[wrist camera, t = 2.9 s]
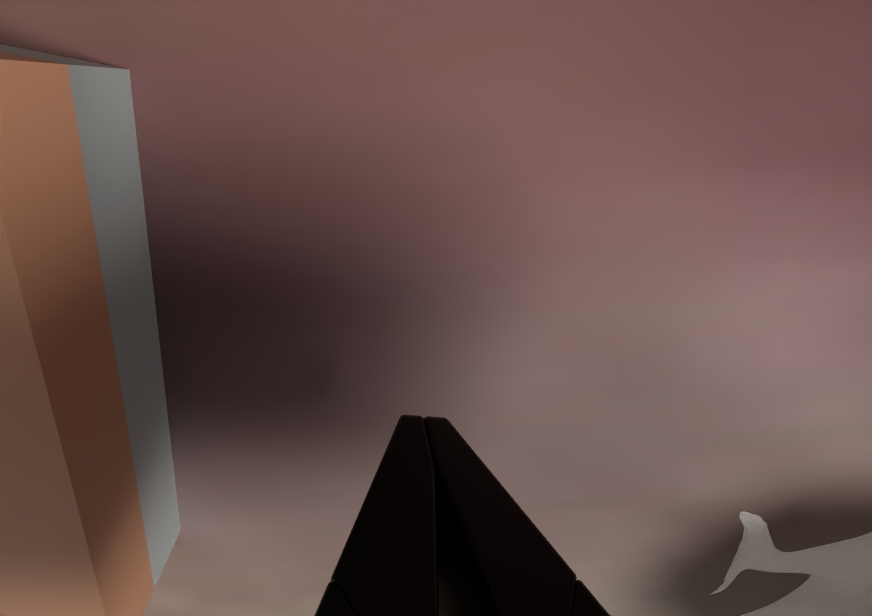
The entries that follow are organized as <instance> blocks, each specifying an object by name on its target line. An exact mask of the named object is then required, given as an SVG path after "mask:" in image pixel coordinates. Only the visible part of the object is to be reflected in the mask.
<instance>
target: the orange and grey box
mask: <svg viewBox="0 0 872 616" xmlns="http://www.w3.org/2000/svg"><path fill="white" fill-rule="evenodd" d="M179 533H180V521H179V512H178V503H177V494H176V485H175V476H174V467H173V458H172V449H171V441H170V432H169V423H168V414H167V405H166V396H165V387H164V378H163V369H162V360H161V351H160V342H159V333H158V324H157V315H156V306H155V297H154V289H153V280H152V271H151V262H150V253H149V244H148V235H147V226H146V217H145V208H144V199H143V190H142V181H141V172H140V163H139V154H138V145H137V136H136V128H135V119H134V110H133V101H132V92H131V83H130V74H129V69H124V68H119V67H114V66H109V65H104V64H99V63H94V62H89V61H84V60H79V59H74V58H69V57H64V56H59V55H54V54H49V53H44V52H39V51H33V50H28V49H23V48H18V47H13V46H8V45H3V44H0V613H1V615H2V616H142V615H143V612H144V610H145V608H146V606H147V604H148V601H149V599H150V597H151V595H152V592H153V590H154V588H155V586H156V584H157V581H158V579H159V577H160V575H161V572H162V570H163V568H164V566H165V564H166V561H167V559H168V557H169V555H170V553H171V550H172V548H173V546H174V544H175V541H176V539H177V537H178V535H179Z"/></svg>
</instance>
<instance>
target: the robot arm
mask: <svg viewBox="0 0 872 616" xmlns="http://www.w3.org/2000/svg"><path fill="white" fill-rule="evenodd" d="M315 616H610V615H609V614H608V613H607V611H606V610H605V609H604V608H603V607H602V606H601V604H600V603H599V602H598V601H597V600H596V598H595V597H594V596H593V595H592V594H591V592H590V591H589V590H588V589H587V587H586V586H585V585H584V584H583V583H582V581H580V580H577V581H576V575H575V573H574V572H573V571H572V570H571V568H570V567H569V566H568V565H567V564H566V562H565V561H564V560H563V559H562V557H561V556H560V555H559V554H558V553H557V551H556V550H555V549H554V548H553V547H552V545H551V544H550V543H549V542H548V541H547V539H546V538H545V537H544V536H543V534H542V533H541V532H540V531H539V530H538V528H537V527H536V526H535V525H534V524H533V522H532V521H531V520H530V519H529V517H528V516H527V515H526V514H525V513H524V511H523V510H522V509H521V508H520V507H519V505H518V504H517V503H516V502H515V501H514V499H513V498H512V497H511V496H510V494H509V493H508V492H507V491H506V490H505V488H504V487H503V486H502V485H501V484H500V482H499V481H498V480H497V479H496V478H495V476H494V475H493V474H492V473H491V471H490V470H489V469H488V468H487V467H486V465H485V464H484V463H483V462H482V461H481V459H480V458H479V457H478V456H477V454H476V453H475V452H474V451H473V450H472V448H471V447H470V446H469V445H468V444H467V442H466V441H465V440H464V439H463V438H462V436H461V435H460V434H459V433H458V431H457V430H456V429H455V428H454V427H453V425H452V424H451V423H450V422H449V421H448V420H447V419H446V418H443V417H429V416H428V417H425V418H424V419H423V418H422V417H421V416H414V415H402V416H401V417H400V418H399V421H398V423H397V425H396V428H395V430H394V432H393V435H392V437H391V439H390V442H389V444H388V446H387V449H386V451H385V453H384V456H383V458H382V460H381V463H380V465H379V467H378V470H377V472H376V474H375V477H374V479H373V481H372V484H371V486H370V488H369V491H368V493H367V495H366V498H365V500H364V502H363V505H362V507H361V509H360V512H359V514H358V516H357V519H356V521H355V523H354V526H353V528H352V530H351V533H350V535H349V537H348V540H347V542H346V544H345V547H344V549H343V551H342V554H341V556H340V558H339V561H338V563H337V565H336V568H335V570H334V572H333V575H332V577H331V582H330V583H329V584H328V586H327V588H326V590H325V593H324V595H323V597H322V600H321V602H320V604H319V607H318V609H317V611H316V613H315Z"/></svg>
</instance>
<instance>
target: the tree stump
mask: <svg viewBox="0 0 872 616" xmlns="http://www.w3.org/2000/svg"><path fill="white" fill-rule="evenodd" d="M739 518H740V520H741V521H742V524H743V526H744V532H743V538H742V540H741V542H740V544H739V548H738V550H737V553H736V555H735V557H734V559H733V562H732V564H731V566H730V568H729V570H728V572H727V574H726V576H725V578H724V581H725V582H724V583H723V584H722V585H721V586H720V587H719V588H718V589H717V590H716V591H714V592H713V593H711V594H715V593H718V592H721V591H723V590H724V589H725V588H727V587H728V586H729V585H730V583H731V582H732V581H733V580H734V579H735V578H736V577H737V575H738V574H739V573H740V572H741V571H742V570H746V569H753V570H759V571H765V572H774V573H805V574H810V577H809V578H808V579H807V580H806V581H805V582H804V583H803V584H802V585H801V586H800V587H798V588H797V589H795V590H794V591H792V592H791V593H789V594H788V595H786V596H785V597H783V598H781V599H779V600H777V601H776V602H774V603H772V604H770V605H767V606H765V607H762V608H760V609H757V610H755V611H752V612H749V613H746V614H743V615H740V616H872V532H870V533H867V534H865V535H862V536H859V537H855V538H852V539H848V540H843V541H839V542H835V543H830V544H826V545H822V546H817V547H813V548H808V549H804V550H800V551H795V552H781V551H780V550H778V549H776V548H775V547H774V545H773V542H772V539H771V536H770V534H769V530H768V528H767V523H766V522H764V521H763V519H762V518H761V517H760V516H758V515H755V514H751V513H748V512H740V516H739ZM711 594H710V595H711Z"/></svg>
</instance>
